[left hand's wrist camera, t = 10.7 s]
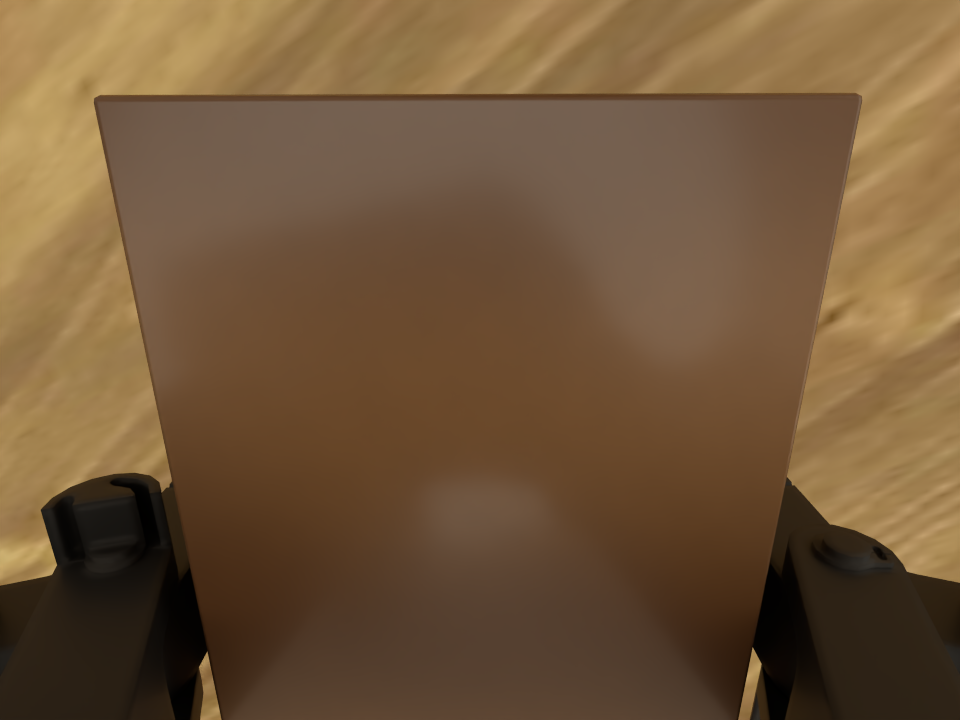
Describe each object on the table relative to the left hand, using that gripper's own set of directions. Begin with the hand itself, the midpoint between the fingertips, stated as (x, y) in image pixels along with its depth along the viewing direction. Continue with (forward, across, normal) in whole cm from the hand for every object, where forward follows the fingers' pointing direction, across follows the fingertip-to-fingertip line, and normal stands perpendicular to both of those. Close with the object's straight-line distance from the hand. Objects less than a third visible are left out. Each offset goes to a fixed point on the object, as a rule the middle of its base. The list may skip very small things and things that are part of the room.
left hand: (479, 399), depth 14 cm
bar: (+1, 0, -28) cm, 29 cm away
